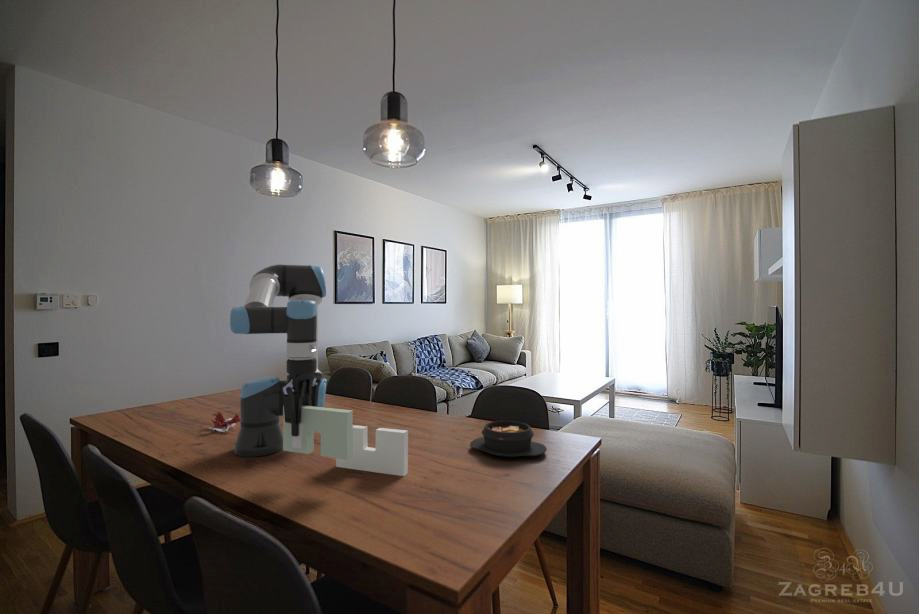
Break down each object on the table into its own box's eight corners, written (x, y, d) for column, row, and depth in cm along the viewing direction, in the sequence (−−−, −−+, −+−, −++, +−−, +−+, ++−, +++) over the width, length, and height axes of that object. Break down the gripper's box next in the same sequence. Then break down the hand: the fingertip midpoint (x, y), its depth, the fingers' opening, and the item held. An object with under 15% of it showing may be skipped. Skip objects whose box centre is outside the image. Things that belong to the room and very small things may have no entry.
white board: (336, 466, 123) (336, 425, 123) (341, 463, 126) (341, 423, 126) (404, 476, 116) (404, 432, 116) (407, 473, 119) (407, 430, 119)
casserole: (461, 456, 132) (461, 429, 133) (479, 439, 150) (479, 415, 150) (541, 467, 124) (541, 438, 124) (550, 447, 141) (550, 422, 141)
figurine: (196, 431, 159) (196, 414, 159) (225, 424, 169) (225, 407, 169) (221, 437, 152) (221, 418, 152) (250, 429, 162) (250, 411, 162)
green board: (283, 450, 113) (283, 405, 113) (289, 447, 115) (289, 403, 115) (347, 459, 106) (347, 412, 106) (352, 456, 109) (352, 410, 108)
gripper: (293, 362, 103) (292, 457, 104) (331, 355, 118) (330, 438, 118) (268, 360, 106) (268, 453, 106) (309, 353, 120) (308, 435, 121)
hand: (301, 445), depth 112 cm, fingers closed on green board, 2 cm apart
